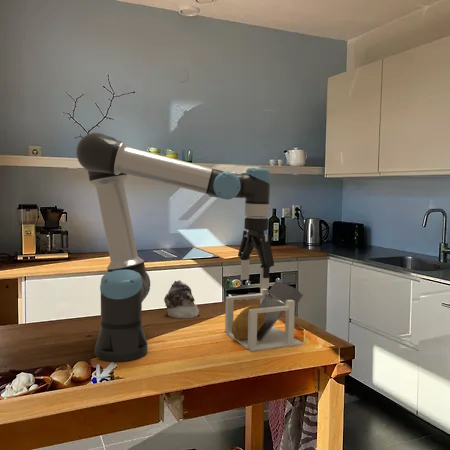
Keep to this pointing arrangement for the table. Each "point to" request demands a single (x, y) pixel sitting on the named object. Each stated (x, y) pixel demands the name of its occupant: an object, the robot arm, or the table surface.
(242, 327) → the potato
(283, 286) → the flap
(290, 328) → the frame
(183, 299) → the stone
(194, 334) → the table surface
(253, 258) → the table surface
